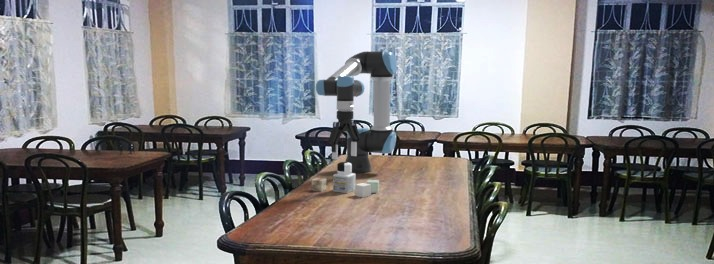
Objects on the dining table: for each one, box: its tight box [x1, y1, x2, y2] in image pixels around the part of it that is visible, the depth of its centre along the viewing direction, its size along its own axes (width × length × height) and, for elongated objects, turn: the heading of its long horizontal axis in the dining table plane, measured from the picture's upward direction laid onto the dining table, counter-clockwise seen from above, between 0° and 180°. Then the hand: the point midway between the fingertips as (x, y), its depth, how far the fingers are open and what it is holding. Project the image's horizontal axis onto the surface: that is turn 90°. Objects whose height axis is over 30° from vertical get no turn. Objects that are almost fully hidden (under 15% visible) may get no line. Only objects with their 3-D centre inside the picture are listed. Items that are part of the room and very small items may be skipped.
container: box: [332, 161, 357, 194], centre depth 237 cm, size 8×8×13 cm
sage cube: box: [366, 179, 380, 194], centre depth 236 cm, size 5×5×5 cm
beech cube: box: [311, 177, 327, 192], centre depth 239 cm, size 5×5×5 cm
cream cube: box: [354, 182, 372, 198], centre depth 229 cm, size 5×5×5 cm
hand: (344, 157), depth 236 cm, fingers open, 13 cm apart
